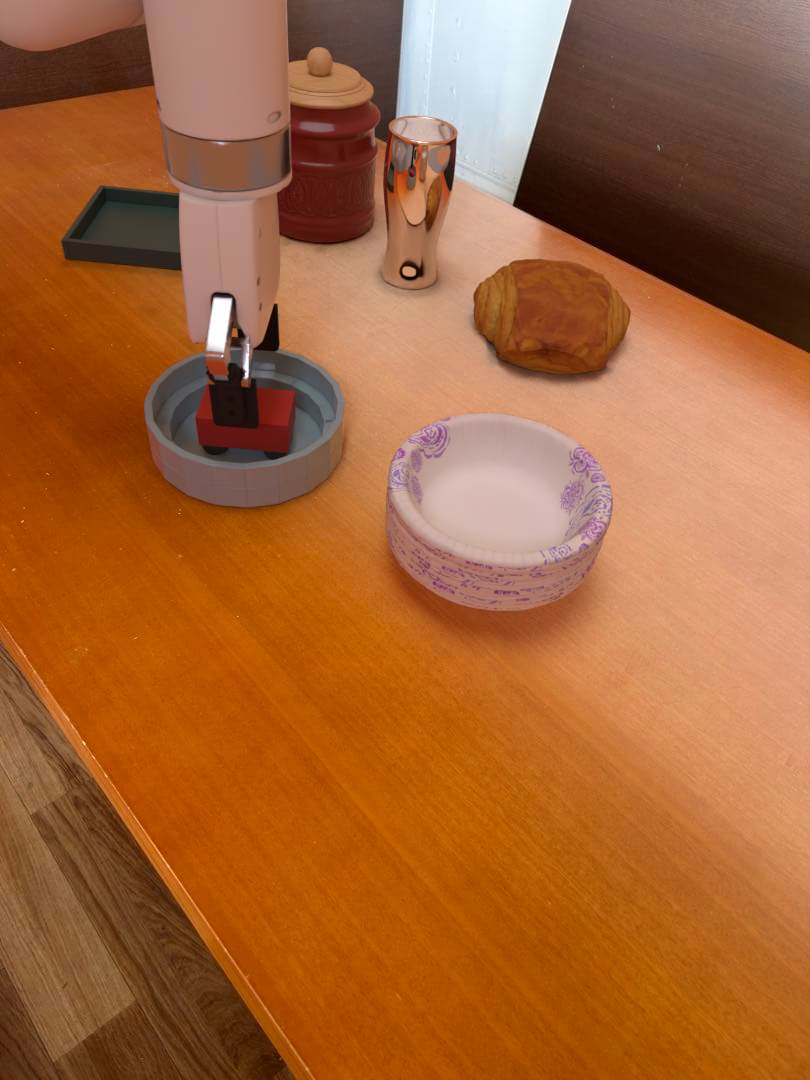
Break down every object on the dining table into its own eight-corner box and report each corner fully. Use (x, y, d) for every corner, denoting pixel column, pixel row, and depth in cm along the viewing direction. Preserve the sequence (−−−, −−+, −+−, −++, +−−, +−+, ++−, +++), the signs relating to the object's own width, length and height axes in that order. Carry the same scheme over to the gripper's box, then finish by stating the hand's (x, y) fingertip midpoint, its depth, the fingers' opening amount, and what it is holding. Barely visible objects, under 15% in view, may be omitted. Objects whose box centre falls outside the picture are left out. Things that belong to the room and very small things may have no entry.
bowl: (130, 502, 59) (119, 457, 56) (178, 381, 70) (171, 337, 66) (333, 520, 60) (334, 476, 57) (350, 397, 70) (352, 354, 67)
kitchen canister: (240, 210, 92) (228, 37, 79) (327, 184, 99) (329, 21, 86) (308, 256, 86) (307, 78, 73) (396, 226, 93) (410, 58, 80)
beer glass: (367, 263, 86) (375, 116, 76) (425, 255, 89) (441, 112, 78) (391, 296, 82) (404, 146, 71) (451, 287, 85) (472, 140, 74)
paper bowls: (385, 478, 63) (393, 398, 58) (573, 494, 64) (599, 416, 58) (375, 632, 53) (382, 554, 47) (598, 649, 54) (633, 574, 48)
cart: (200, 454, 63) (195, 417, 60) (211, 420, 66) (207, 382, 63) (288, 462, 63) (287, 425, 60) (295, 427, 66) (295, 390, 63)
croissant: (480, 308, 86) (481, 236, 81) (627, 316, 83) (639, 242, 78) (459, 381, 76) (459, 304, 71) (626, 393, 73) (639, 314, 68)
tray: (65, 258, 82) (60, 240, 80) (103, 202, 91) (99, 184, 89) (212, 273, 82) (210, 255, 81) (236, 215, 91) (234, 198, 90)
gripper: (197, 94, 53) (221, 319, 66) (125, 207, 42) (171, 455, 54) (308, 105, 54) (311, 327, 66) (268, 220, 42) (281, 464, 54)
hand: (248, 384), depth 60 cm, fingers open, 9 cm apart
